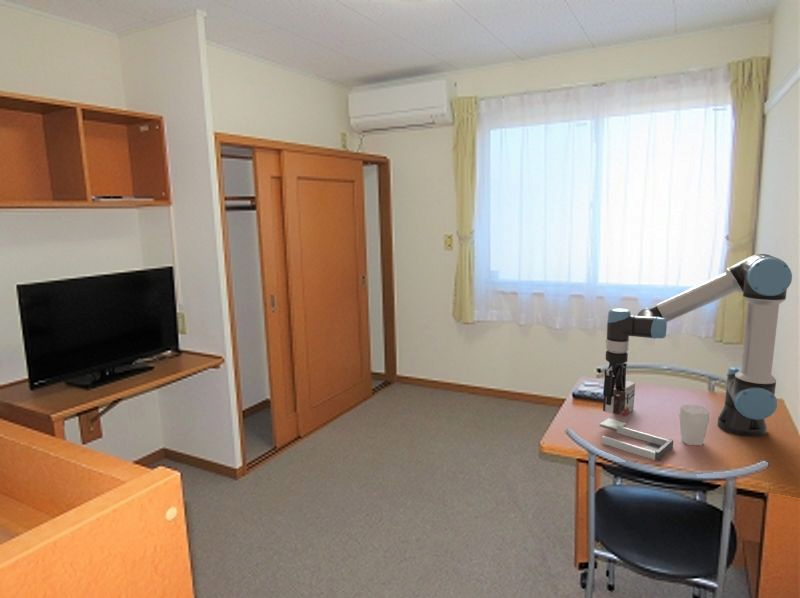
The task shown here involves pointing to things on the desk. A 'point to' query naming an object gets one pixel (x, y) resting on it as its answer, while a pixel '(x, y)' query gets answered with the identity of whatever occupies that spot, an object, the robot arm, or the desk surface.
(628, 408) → the ink box
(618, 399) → the box
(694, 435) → the cup
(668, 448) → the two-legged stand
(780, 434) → the desk surface
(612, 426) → the pad
